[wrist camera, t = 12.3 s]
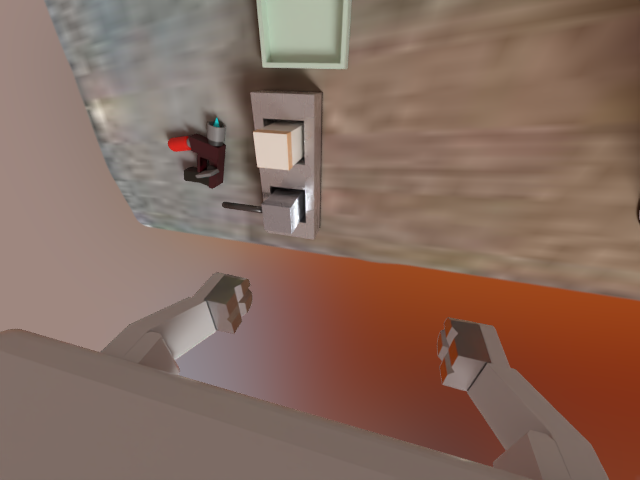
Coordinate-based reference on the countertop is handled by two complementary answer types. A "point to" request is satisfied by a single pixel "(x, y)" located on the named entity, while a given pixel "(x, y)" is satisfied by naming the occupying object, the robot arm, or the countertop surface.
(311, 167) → the grey box with openings
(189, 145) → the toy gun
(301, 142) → the plug
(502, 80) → the countertop surface
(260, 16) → the tray
